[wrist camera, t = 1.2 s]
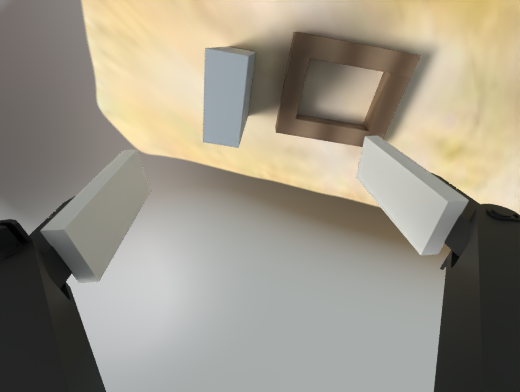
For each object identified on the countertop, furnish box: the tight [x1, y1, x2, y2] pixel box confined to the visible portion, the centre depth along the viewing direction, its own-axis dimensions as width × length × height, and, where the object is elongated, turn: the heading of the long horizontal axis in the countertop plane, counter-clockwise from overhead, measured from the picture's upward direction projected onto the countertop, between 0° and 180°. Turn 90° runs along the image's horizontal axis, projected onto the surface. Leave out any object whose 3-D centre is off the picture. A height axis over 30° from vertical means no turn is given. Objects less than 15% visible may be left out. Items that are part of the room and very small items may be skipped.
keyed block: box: [203, 47, 256, 148], centre depth 30 cm, size 4×9×14 cm, turn 171°
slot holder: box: [276, 32, 420, 147], centre depth 35 cm, size 16×13×3 cm
